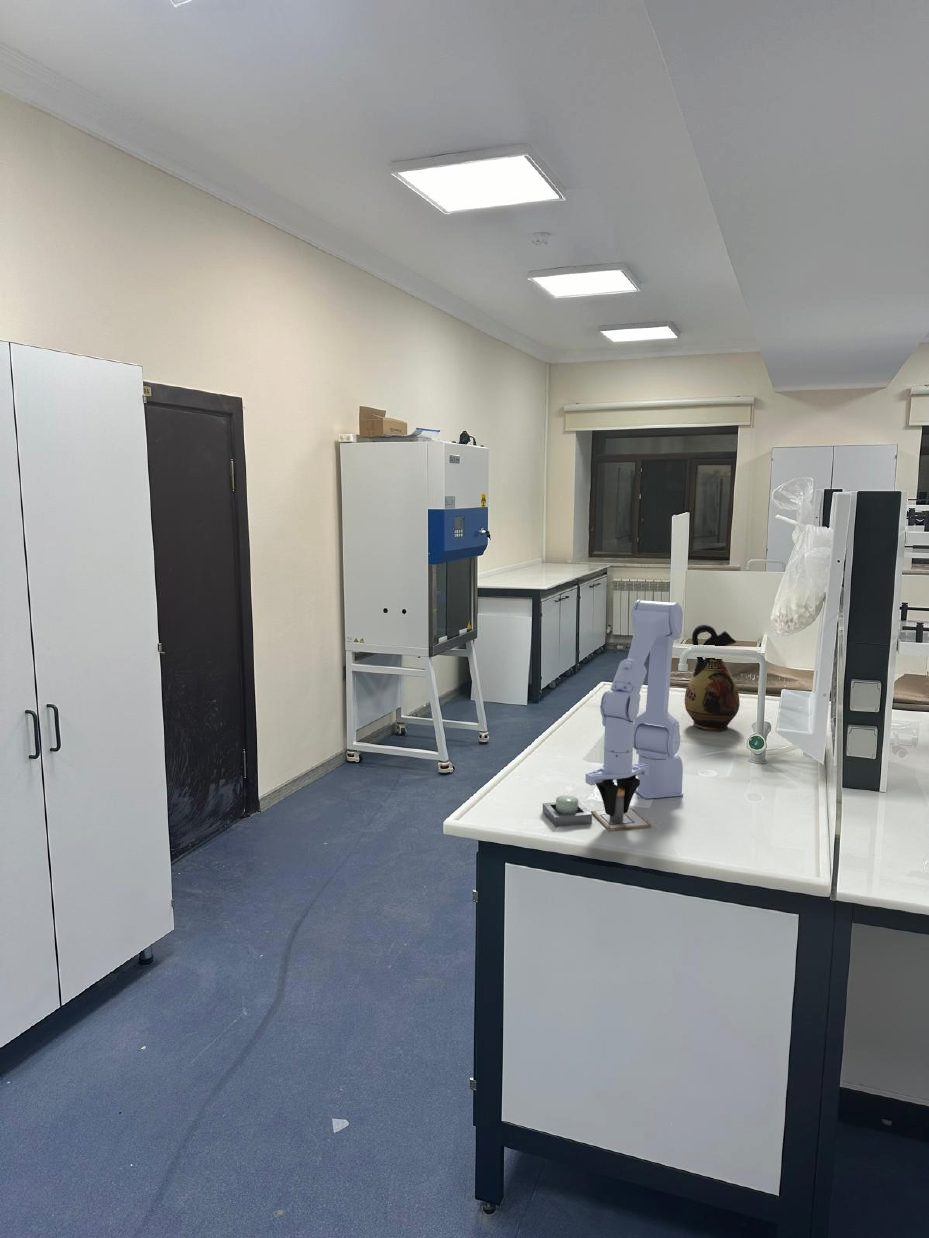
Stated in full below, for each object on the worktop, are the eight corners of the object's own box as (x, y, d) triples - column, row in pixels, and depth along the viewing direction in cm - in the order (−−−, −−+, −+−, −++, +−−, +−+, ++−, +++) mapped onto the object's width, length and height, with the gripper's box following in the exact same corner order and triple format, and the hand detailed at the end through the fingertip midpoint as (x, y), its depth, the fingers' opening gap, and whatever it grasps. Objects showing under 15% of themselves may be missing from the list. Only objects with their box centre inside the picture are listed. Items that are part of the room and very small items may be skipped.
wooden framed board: (630, 809, 175) (630, 806, 175) (651, 827, 165) (651, 824, 165) (591, 812, 173) (591, 810, 173) (609, 831, 163) (609, 828, 163)
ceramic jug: (736, 721, 245) (741, 623, 240) (740, 735, 230) (745, 631, 226) (677, 717, 249) (681, 620, 245) (678, 731, 234) (682, 628, 230)
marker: (622, 817, 168) (623, 786, 167) (624, 822, 165) (625, 792, 164) (608, 816, 169) (609, 786, 168) (609, 822, 166) (610, 791, 165)
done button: (573, 806, 173) (573, 794, 172) (581, 814, 168) (581, 802, 168) (552, 808, 172) (553, 796, 171) (560, 816, 167) (560, 804, 167)
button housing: (578, 809, 175) (578, 800, 175) (591, 823, 167) (592, 814, 167) (542, 812, 173) (542, 803, 173) (554, 826, 165) (555, 817, 165)
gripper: (634, 738, 172) (632, 800, 174) (577, 748, 165) (575, 812, 167) (656, 747, 165) (654, 811, 167) (598, 757, 159) (596, 824, 161)
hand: (616, 812), depth 167 cm, fingers closed on marker, 3 cm apart
